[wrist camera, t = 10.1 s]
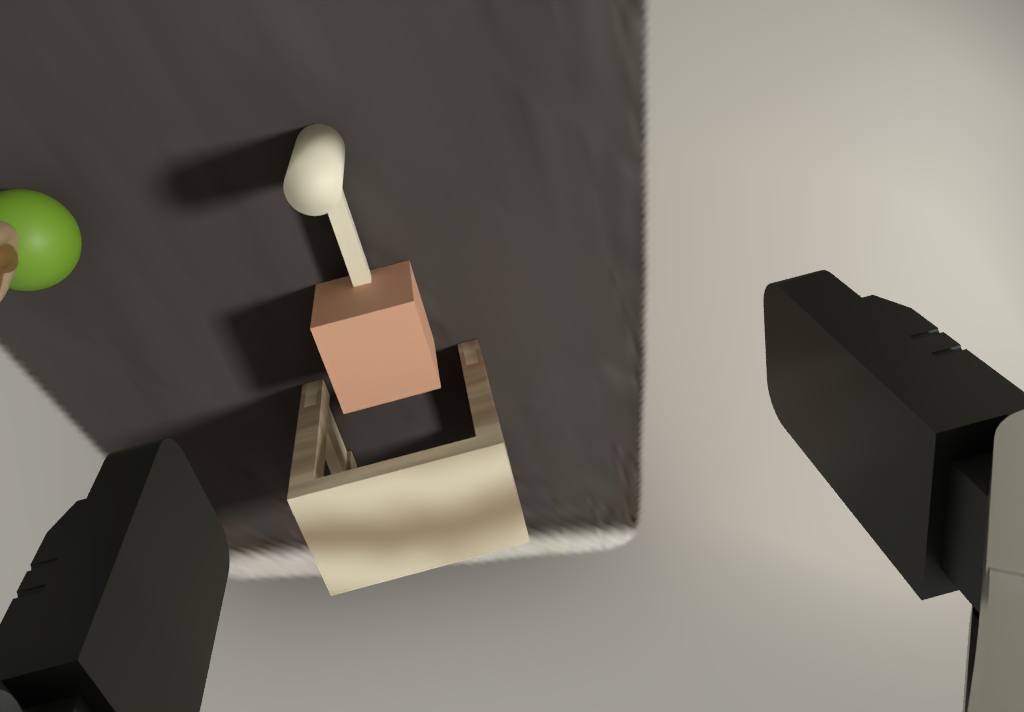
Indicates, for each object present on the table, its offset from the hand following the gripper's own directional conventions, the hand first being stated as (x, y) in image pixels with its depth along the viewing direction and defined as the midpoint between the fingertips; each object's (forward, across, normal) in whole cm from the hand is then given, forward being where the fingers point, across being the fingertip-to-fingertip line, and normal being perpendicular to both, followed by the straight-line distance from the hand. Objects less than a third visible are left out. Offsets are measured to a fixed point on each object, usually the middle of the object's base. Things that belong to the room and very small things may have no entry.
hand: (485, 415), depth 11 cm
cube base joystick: (+38, +6, +11) cm, 40 cm away
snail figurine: (+38, +22, +5) cm, 44 cm away
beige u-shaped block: (+38, +6, +24) cm, 45 cm away
